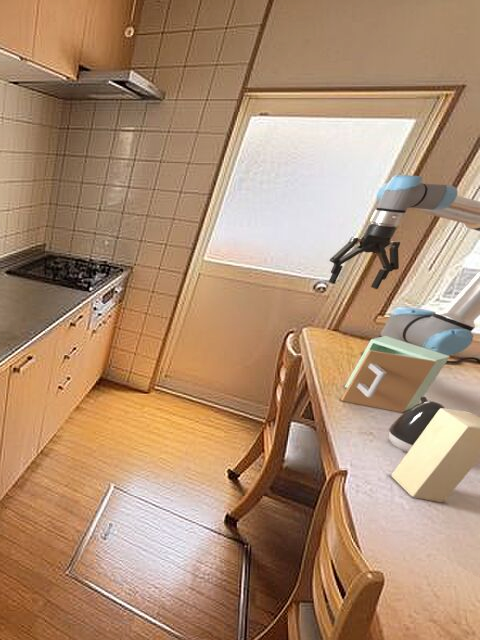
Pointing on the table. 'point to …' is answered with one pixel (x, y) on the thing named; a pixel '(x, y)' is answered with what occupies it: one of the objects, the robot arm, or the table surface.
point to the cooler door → (387, 380)
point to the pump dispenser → (412, 424)
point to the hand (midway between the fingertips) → (352, 285)
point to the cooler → (409, 350)
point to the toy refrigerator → (441, 455)
